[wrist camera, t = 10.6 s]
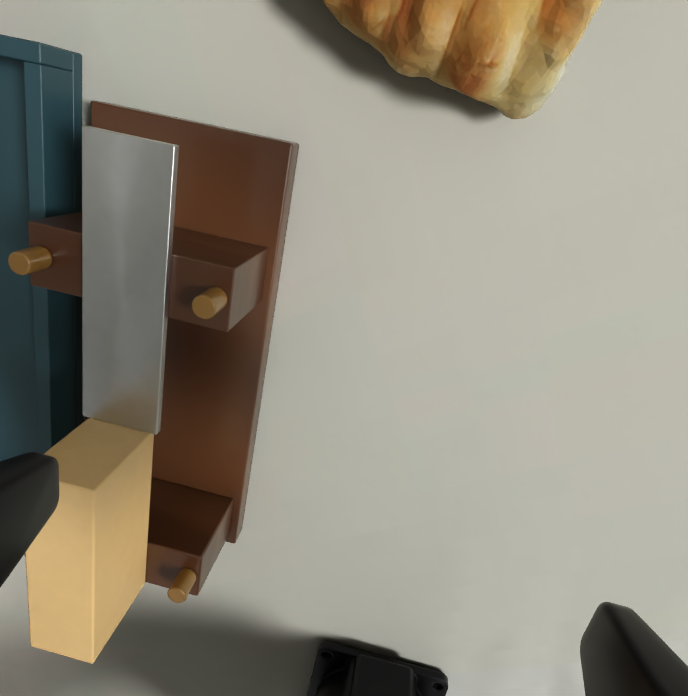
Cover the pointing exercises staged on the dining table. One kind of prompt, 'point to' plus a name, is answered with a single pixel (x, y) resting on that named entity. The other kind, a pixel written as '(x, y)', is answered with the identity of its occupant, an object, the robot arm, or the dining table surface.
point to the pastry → (475, 43)
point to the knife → (109, 399)
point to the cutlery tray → (12, 234)
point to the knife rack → (198, 327)
